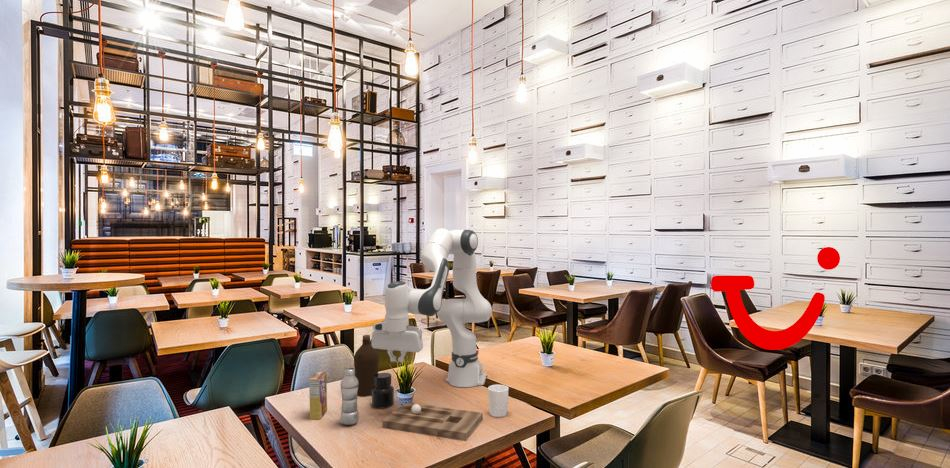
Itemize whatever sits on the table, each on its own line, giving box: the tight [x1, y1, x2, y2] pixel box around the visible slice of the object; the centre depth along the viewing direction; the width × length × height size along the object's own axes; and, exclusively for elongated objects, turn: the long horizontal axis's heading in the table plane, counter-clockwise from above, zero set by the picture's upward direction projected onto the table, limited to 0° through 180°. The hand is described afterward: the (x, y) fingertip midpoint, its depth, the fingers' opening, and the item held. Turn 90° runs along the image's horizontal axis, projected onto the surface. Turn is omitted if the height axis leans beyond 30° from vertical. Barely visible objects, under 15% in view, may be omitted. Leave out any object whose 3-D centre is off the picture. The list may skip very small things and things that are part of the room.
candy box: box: [308, 371, 328, 421], centre depth 171 cm, size 9×4×15 cm, turn 2°
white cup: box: [487, 384, 509, 418], centre depth 172 cm, size 8×8×10 cm
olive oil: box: [353, 334, 380, 397], centre depth 195 cm, size 11×11×25 cm
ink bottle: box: [371, 372, 395, 409], centre depth 181 cm, size 10×9×12 cm
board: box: [381, 402, 484, 441], centre depth 163 cm, size 32×18×4 cm, turn 71°
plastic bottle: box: [339, 367, 360, 426], centre depth 163 cm, size 6×7×20 cm
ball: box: [411, 403, 421, 414], centre depth 165 cm, size 4×4×4 cm
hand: (397, 361), depth 168 cm, fingers closed
